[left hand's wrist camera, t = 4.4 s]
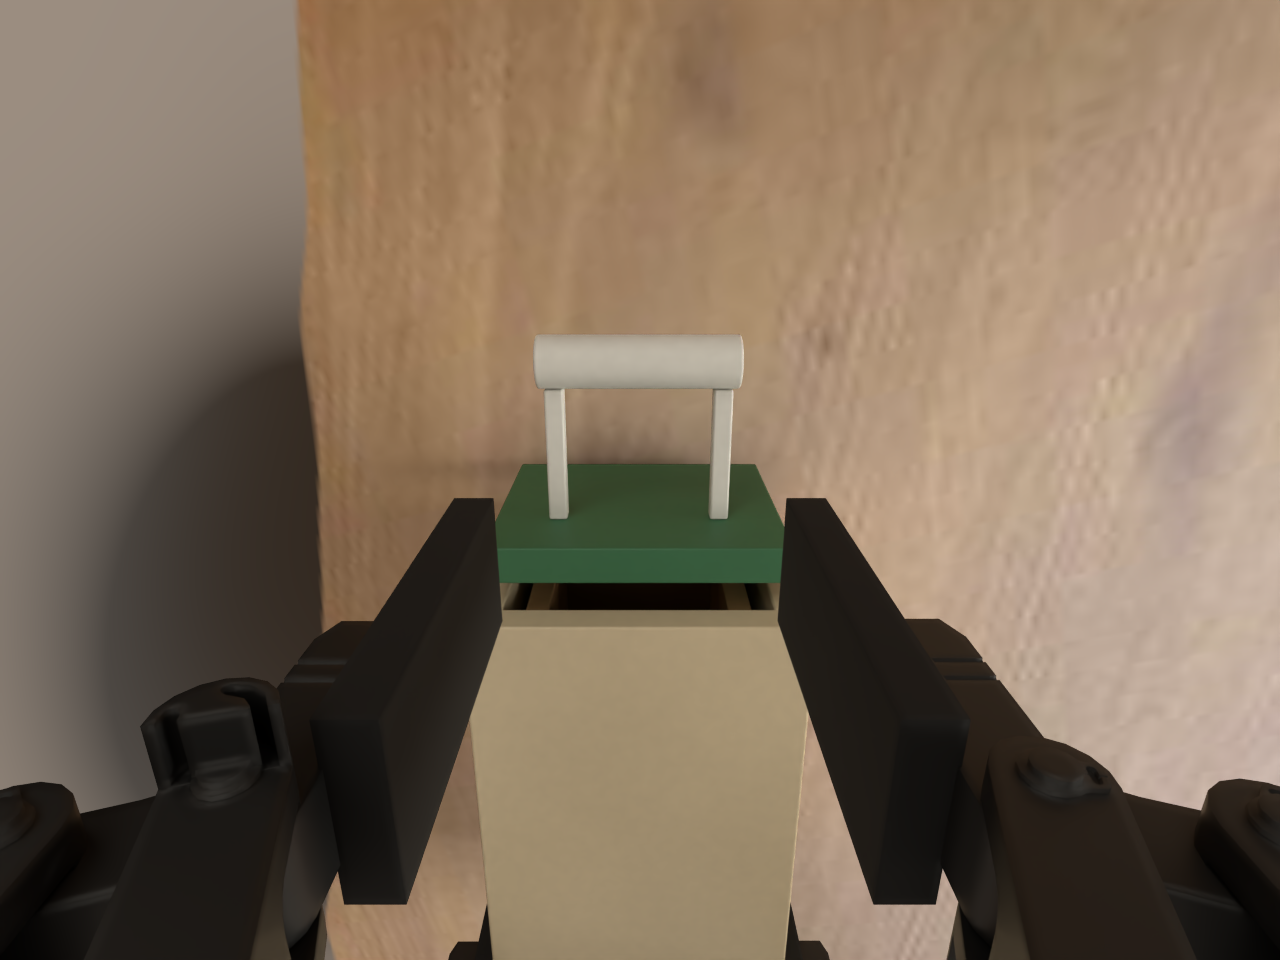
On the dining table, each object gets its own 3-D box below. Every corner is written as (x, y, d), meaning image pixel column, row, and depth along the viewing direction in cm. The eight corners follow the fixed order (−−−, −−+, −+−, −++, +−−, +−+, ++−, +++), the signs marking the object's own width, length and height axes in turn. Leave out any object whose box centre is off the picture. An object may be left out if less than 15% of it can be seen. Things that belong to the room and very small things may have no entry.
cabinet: (514, 502, 31) (458, 627, 22) (763, 501, 31) (817, 627, 22) (536, 843, 38) (501, 1054, 28) (742, 843, 38) (776, 1054, 28)
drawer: (513, 312, 27) (465, 348, 20) (764, 312, 27) (811, 348, 20) (542, 806, 35) (515, 964, 28) (736, 806, 35) (761, 965, 28)
